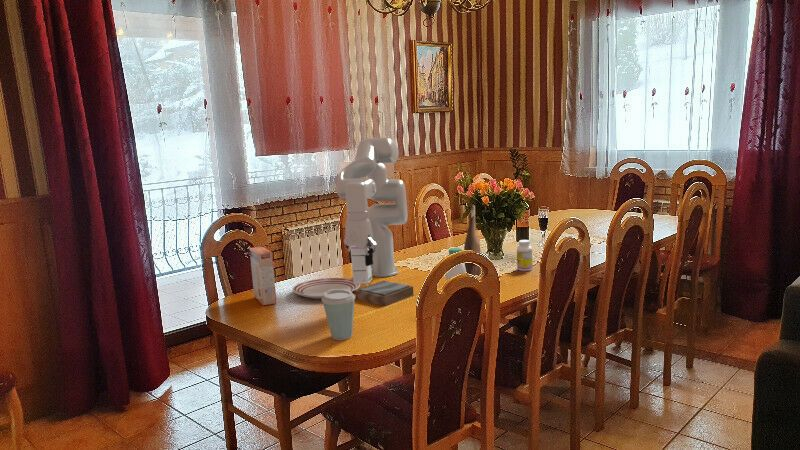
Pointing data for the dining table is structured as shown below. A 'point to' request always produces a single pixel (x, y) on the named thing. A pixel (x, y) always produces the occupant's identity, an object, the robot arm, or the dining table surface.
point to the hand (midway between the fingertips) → (361, 263)
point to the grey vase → (472, 244)
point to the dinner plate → (323, 286)
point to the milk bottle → (456, 269)
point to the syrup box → (360, 266)
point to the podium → (384, 293)
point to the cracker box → (263, 275)
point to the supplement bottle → (524, 256)
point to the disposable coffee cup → (339, 312)
